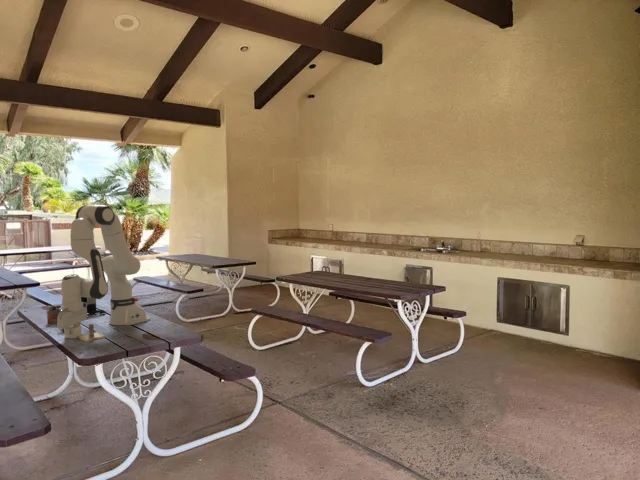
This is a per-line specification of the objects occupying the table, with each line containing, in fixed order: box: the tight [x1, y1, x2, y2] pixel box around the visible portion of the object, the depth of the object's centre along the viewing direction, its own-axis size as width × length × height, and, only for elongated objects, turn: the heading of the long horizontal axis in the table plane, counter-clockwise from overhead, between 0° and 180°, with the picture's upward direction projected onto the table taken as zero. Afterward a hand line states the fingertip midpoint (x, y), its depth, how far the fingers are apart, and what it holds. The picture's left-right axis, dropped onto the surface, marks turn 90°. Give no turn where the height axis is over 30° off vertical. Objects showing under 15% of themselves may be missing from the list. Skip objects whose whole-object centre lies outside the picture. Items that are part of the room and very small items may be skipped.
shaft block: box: [76, 323, 107, 343], centre depth 241 cm, size 10×10×7 cm
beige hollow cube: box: [63, 325, 83, 339], centre depth 244 cm, size 6×6×6 cm
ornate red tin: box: [46, 304, 62, 325], centre depth 273 cm, size 8×3×10 cm, turn 126°
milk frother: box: [81, 297, 106, 314], centre depth 297 cm, size 14×16×15 cm
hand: (73, 333), depth 244 cm, fingers closed on beige hollow cube, 6 cm apart
